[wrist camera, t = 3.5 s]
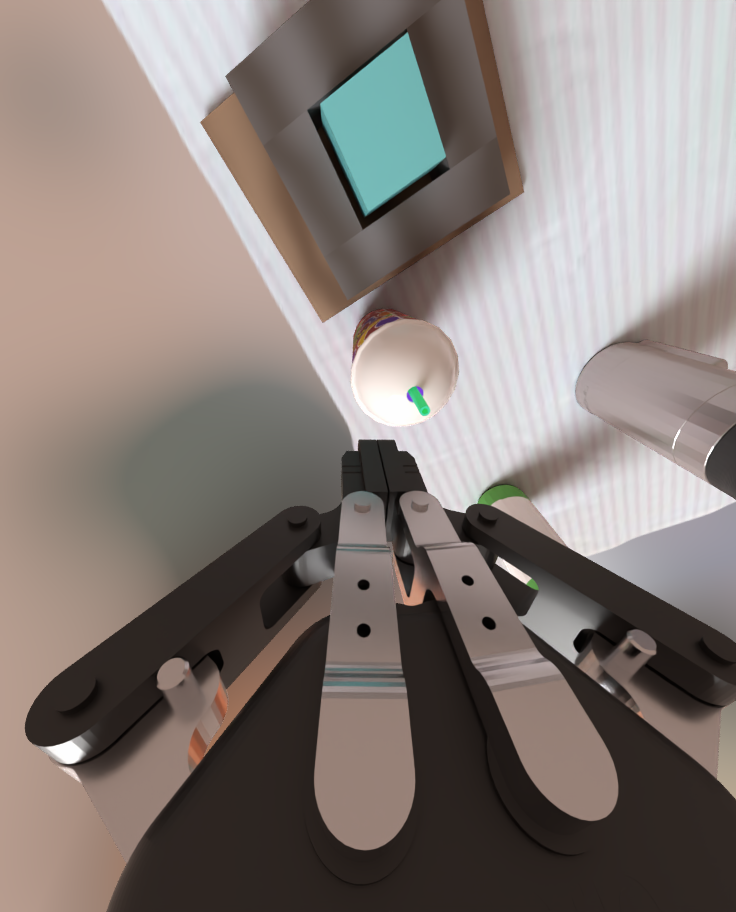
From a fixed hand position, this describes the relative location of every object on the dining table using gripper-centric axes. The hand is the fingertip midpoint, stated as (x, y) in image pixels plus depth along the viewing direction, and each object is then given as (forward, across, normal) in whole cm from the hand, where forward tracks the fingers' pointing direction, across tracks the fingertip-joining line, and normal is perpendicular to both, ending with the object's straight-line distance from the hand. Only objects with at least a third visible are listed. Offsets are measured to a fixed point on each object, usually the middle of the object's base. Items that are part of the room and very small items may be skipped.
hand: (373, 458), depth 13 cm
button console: (+26, -2, -14) cm, 30 cm away
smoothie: (+26, -4, 0) cm, 26 cm away
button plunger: (+22, -2, -15) cm, 26 cm away
